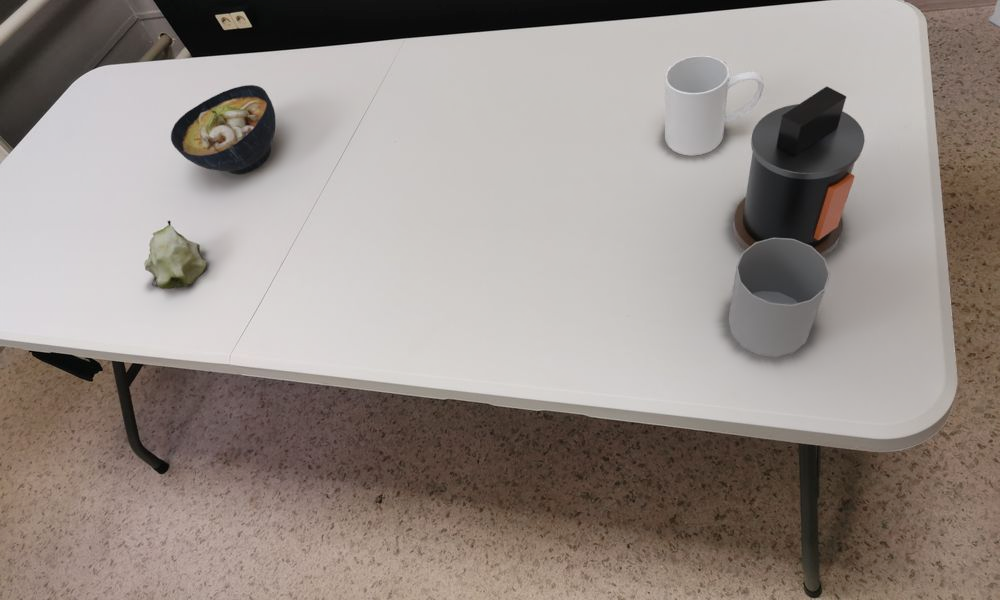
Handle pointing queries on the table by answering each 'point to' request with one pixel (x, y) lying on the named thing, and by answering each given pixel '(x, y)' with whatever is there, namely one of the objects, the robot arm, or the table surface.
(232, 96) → the bowl
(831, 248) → the disc
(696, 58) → the mug
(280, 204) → the table surface
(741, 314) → the cup
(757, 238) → the bin
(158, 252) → the fruit
